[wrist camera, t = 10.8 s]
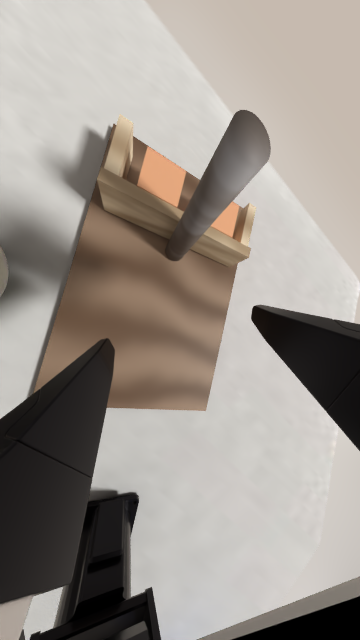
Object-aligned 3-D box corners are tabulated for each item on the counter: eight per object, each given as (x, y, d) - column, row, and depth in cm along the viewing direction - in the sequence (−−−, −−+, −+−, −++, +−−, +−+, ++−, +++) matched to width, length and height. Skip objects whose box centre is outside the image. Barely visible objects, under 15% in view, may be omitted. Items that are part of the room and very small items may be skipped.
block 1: (167, 230, 18) (177, 207, 14) (135, 215, 17) (136, 185, 13) (174, 201, 18) (186, 171, 14) (143, 184, 17) (147, 145, 13)
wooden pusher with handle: (228, 283, 21) (346, 242, 10) (94, 228, 15) (-18, -52, 4) (241, 223, 22) (367, 117, 10) (117, 148, 16) (86, -308, 4)
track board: (203, 408, 21) (205, 410, 20) (33, 401, 14) (29, 405, 14) (245, 214, 23) (248, 212, 22) (114, 130, 16) (113, 123, 16)
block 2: (213, 252, 20) (232, 237, 17) (188, 240, 19) (202, 221, 15) (219, 226, 21) (239, 206, 17) (195, 213, 19) (211, 187, 15)
